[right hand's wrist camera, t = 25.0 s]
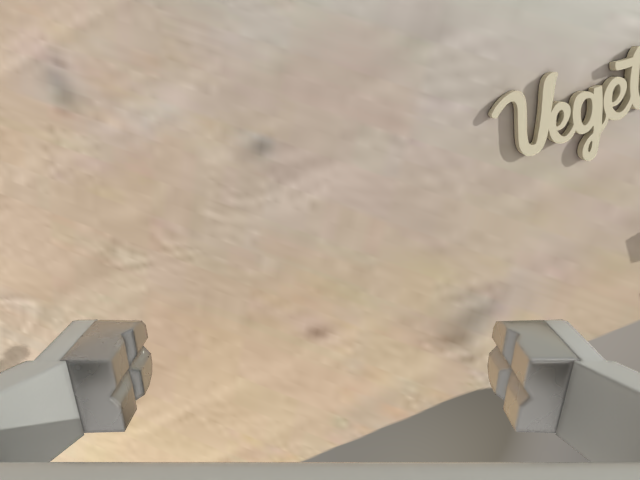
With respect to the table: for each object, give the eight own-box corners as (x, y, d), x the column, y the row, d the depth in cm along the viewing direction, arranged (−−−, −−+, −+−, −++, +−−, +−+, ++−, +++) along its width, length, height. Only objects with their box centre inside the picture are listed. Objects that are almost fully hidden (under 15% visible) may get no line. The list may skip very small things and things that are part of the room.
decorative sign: (515, 192, 46) (487, 102, 43) (511, 189, 47) (483, 101, 44) (782, 80, 42) (774, -29, 39) (772, 80, 43) (763, -27, 40)
